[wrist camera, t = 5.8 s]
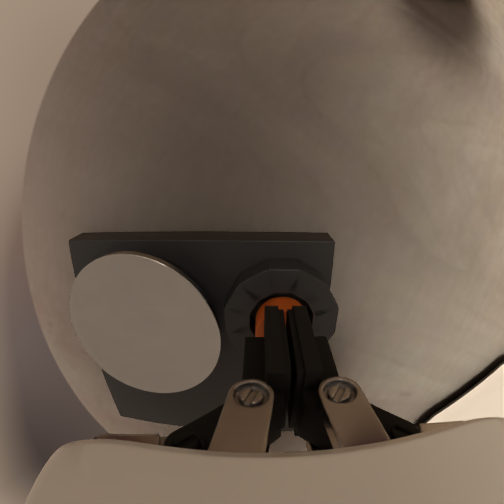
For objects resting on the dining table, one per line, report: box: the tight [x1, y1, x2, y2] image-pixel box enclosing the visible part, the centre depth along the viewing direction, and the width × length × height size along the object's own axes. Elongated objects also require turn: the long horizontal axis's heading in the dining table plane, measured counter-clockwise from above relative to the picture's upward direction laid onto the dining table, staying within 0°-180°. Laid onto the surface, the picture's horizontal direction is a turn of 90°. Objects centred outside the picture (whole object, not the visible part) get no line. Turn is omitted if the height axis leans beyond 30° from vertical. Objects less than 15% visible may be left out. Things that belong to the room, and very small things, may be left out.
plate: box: [424, 361, 504, 423], centre depth 21 cm, size 24×24×2 cm
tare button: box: [255, 296, 302, 337], centre depth 13 cm, size 2×2×1 cm
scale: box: [69, 232, 338, 431], centre depth 16 cm, size 14×14×3 cm
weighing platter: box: [69, 251, 222, 393], centre depth 14 cm, size 8×8×1 cm
